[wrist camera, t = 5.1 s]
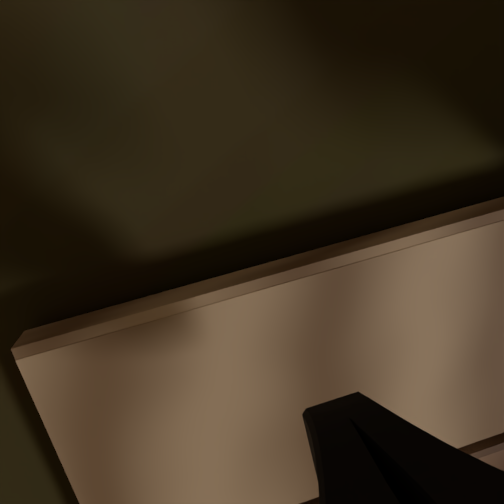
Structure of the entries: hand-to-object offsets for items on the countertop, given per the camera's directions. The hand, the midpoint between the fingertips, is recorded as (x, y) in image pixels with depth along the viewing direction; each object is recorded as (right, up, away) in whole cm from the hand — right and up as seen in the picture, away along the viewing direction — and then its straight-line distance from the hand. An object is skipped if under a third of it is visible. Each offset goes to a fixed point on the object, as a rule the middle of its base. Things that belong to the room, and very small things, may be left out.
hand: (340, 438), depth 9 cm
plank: (+1, 0, +6) cm, 6 cm away
